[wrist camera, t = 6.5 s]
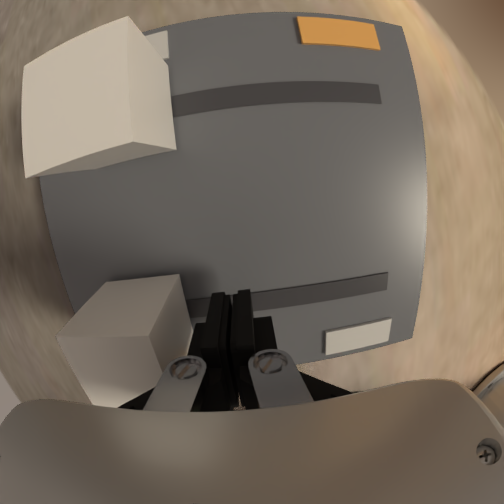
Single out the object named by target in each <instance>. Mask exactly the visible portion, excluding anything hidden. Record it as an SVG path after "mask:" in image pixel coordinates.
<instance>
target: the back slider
mask: <svg viewBox="0 0 504 504" xmlns="http://www.w3.org/2000/svg"><path fill="white" fill-rule="evenodd" d="M192 335H193V329H192V325H191V321H190V317H189V313H188V309H187V305H186V301H185V297H184V293H183V288H182V284H181V280H180V275H179V274H174V275H166V276H157V277H148V278H139V279H130V280H121V281H111V282H106V283H105V284H104V285H103V286H102V287H101V288H100V289H99V290H98V291H97V292H96V293H95V294H94V295H93V296H92V297H91V298H90V299H89V300H88V301H87V302H86V303H85V304H84V305H83V306H82V307H81V308H80V309H79V310H78V312H77V313H76V314H75V315H74V316H73V317H72V318H71V319H70V320H69V321H68V322H67V323H66V325H65V326H64V327H63V328H62V329H61V330H60V331H59V332H58V334H57V335H56V336H55V337H56V339H57V341H58V343H59V345H60V347H61V350H62V352H63V354H64V355H65V357H66V359H67V361H68V363H69V365H70V367H71V369H72V370H73V372H74V374H75V376H76V378H77V379H78V381H79V383H80V384H81V386H82V388H83V389H84V391H85V393H86V394H87V396H88V398H89V399H90V401H91V402H92V404H93V405H98V406H105V407H113V408H118V407H119V406H121V405H123V404H124V403H126V402H128V401H130V400H132V399H134V398H136V397H137V396H139V395H141V394H143V393H145V392H147V391H148V390H150V389H152V388H154V387H155V386H156V385H157V383H158V381H159V379H160V377H161V375H162V374H163V372H164V370H165V368H166V367H167V365H168V364H169V363H170V362H171V361H173V360H174V359H176V358H179V357H182V356H187V354H188V350H189V346H190V342H191V338H192Z"/></svg>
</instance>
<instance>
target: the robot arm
mask: <svg viewBox="0 0 504 504" xmlns="http://www.w3.org/2000/svg"><path fill="white" fill-rule="evenodd" d="M239 395H240V400H241V404H242V407H244V406H245V408H246V410H236V411H234V407H238V406H239ZM0 504H504V364H502V365H501V366H499V367H498V368H497V369H496V370H494V371H493V372H492V373H491V374H490V375H489V376H488V377H487V378H486V379H485V380H484V381H483V382H482V383H481V384H480V385H479V386H478V387H477V388H476V389H475V390H474V391H473V392H472V391H471V390H470V389H468V388H467V387H466V386H464V385H463V384H461V383H459V382H456V381H453V380H448V379H420V380H413V381H406V382H401V383H396V384H391V385H387V386H384V387H379V388H375V389H371V390H367V391H362V392H358V393H351V392H349V391H347V390H344V389H342V388H339V387H336V386H334V385H331V384H329V383H326V382H324V381H321V380H319V379H316V378H314V377H311V376H309V375H307V374H304V373H302V372H299V371H298V369H297V367H296V365H295V363H294V361H293V359H292V357H291V356H290V355H289V354H288V353H287V352H285V351H282V350H279V349H277V343H276V338H275V333H274V327H273V322H272V317H271V316H266V317H257V318H254V315H253V307H252V298H251V291H250V289H245V290H238V294H233V303H231V297H230V294H229V295H226V294H225V292H216V293H212V295H211V299H210V304H209V309H208V313H207V318H206V322H203V323H196V324H195V327H194V331H193V335H192V338H191V342H190V346H189V350H188V354H187V356H182V357H179V358H176V359H174V360H173V361H171V362H170V363H169V364H168V365H167V367H166V368H165V370H164V372H163V374H162V375H161V377H160V379H159V381H158V383H157V385H156V386H155V387H154V388H152V389H150V390H148V391H147V392H145V393H143V394H141V395H139V396H137V397H136V398H134V399H132V400H130V401H128V402H126V403H124V404H123V405H121V406H119V407H118V408H113V407H105V406H98V405H91V404H84V403H77V402H70V401H64V400H53V399H39V400H31V401H27V402H24V403H21V404H19V405H17V406H16V407H15V408H14V409H13V410H12V411H11V412H10V413H9V414H8V415H7V417H6V418H5V419H4V421H3V422H2V423H1V425H0Z"/></svg>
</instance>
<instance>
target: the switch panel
mask: <svg viewBox="0 0 504 504" xmlns="http://www.w3.org/2000/svg"><path fill="white" fill-rule="evenodd" d="M142 34H143V35H144V36H145V37H146V38H147V40H148V41H149V42H150V43H151V45H152V46H153V47H154V48H155V50H156V51H157V52H158V53H159V55H160V56H161V57H162V59H163V60H164V61H165V62H166V64H167V65H168V71H169V83H170V95H171V105H172V115H173V124H174V133H175V141H176V149H177V150H172V151H167V152H163V153H158V154H153V155H149V156H144V157H140V158H136V159H132V160H127V161H123V162H120V163H116V164H112V165H108V166H105V167H101V168H98V169H91V170H82V171H73V172H65V173H57V174H50V175H43V176H39V178H40V186H41V192H42V198H43V204H44V209H45V214H46V219H47V224H48V228H49V233H50V237H51V241H52V245H53V249H54V252H55V256H56V259H57V263H58V266H59V270H60V273H61V276H62V279H63V282H64V285H65V288H66V291H67V294H68V297H69V300H70V302H71V305H72V308H73V310H74V313H75V314H76V313H77V312H78V310H79V309H80V308H81V307H82V306H83V305H84V304H85V303H86V302H87V301H88V300H89V299H90V298H91V297H92V296H93V295H94V294H95V293H96V292H97V291H98V290H99V289H100V288H101V287H102V286H103V285H104V284H105V283H106V282H111V281H121V280H130V279H139V278H148V277H157V276H166V275H174V274H179V275H180V280H181V284H182V288H183V293H184V297H185V301H186V305H187V309H188V313H189V317H190V321H191V325H192V329H193V331H194V327H195V324H196V323H203V322H206V318H207V313H208V309H209V304H210V299H211V295H212V293H216V292H225V294H226V295H229V294H230V297H231V303H233V294H238V290H245V289H250V291H251V298H252V307H253V315H254V318H257V317H266V316H271V317H272V322H273V327H274V333H275V338H276V343H277V349H279V350H282V351H285V352H287V353H288V354H289V355H290V356H291V357H292V359H293V361H294V363H295V365H297V364H303V363H309V362H314V361H320V360H325V359H330V358H335V357H340V356H345V355H349V354H354V353H358V352H362V351H366V350H370V349H374V348H378V347H382V346H386V345H390V344H393V343H397V342H400V341H404V340H407V339H410V338H412V336H413V331H414V326H415V321H416V316H417V310H418V304H419V298H420V291H421V284H422V276H423V268H424V258H425V246H426V229H427V168H426V152H425V140H424V131H423V122H422V115H421V108H420V101H419V95H418V90H417V85H416V80H415V75H414V70H413V66H412V62H411V58H410V54H409V50H408V46H407V42H406V39H405V36H404V32H403V29H402V27H401V26H397V25H393V24H389V23H384V22H379V21H374V20H369V19H363V18H356V17H350V16H342V15H333V14H321V13H304V12H263V13H246V14H235V15H225V16H217V17H210V18H204V19H198V20H192V21H187V22H182V23H178V24H173V25H169V26H165V27H161V28H157V29H153V30H149V31H146V32H142Z"/></svg>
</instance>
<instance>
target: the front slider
mask: <svg viewBox="0 0 504 504" xmlns="http://www.w3.org/2000/svg"><path fill="white" fill-rule="evenodd" d="M21 120H22V147H23V160H24V169H25V178H31V177H37V176H43V175H50V174H57V173H65V172H73V171H82V170H91V169H98V168H101V167H105V166H108V165H112V164H116V163H120V162H123V161H127V160H132V159H136V158H140V157H144V156H149V155H153V154H158V153H163V152H167V151H172V150H177V149H176V141H175V133H174V124H173V115H172V105H171V95H170V83H169V71H168V65H167V64H166V62H165V61H164V60H163V59H162V57H161V56H160V55H159V53H158V52H157V51H156V50H155V48H154V47H153V46H152V45H151V43H150V42H149V41H148V40H147V38H146V37H145V36H144V35H143V34H142V32H141V31H140V30H139V29H138V27H137V26H136V25H135V24H134V23H133V21H132V20H131V19H130V18H129V17H128V16H127V17H124V18H121V19H118V20H115V21H113V22H110V23H107V24H105V25H102V26H100V27H97V28H95V29H93V30H90V31H88V32H86V33H84V34H81V35H79V36H77V37H75V38H73V39H71V40H69V41H67V42H65V43H63V44H61V45H59V46H57V47H56V48H54V49H52V50H50V51H48V52H47V53H45V54H43V55H41V56H40V57H38V58H36V59H35V60H33V61H32V62H30V63H28V64H27V65H25V66H24V72H23V85H22V111H21Z"/></svg>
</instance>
